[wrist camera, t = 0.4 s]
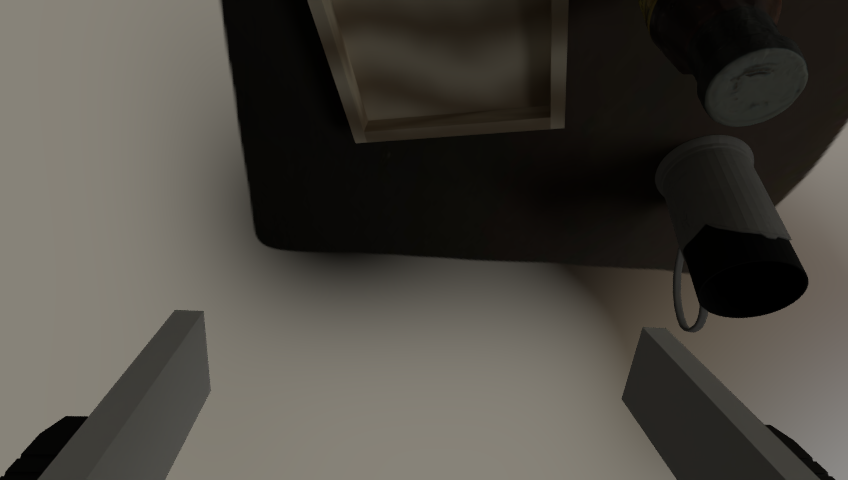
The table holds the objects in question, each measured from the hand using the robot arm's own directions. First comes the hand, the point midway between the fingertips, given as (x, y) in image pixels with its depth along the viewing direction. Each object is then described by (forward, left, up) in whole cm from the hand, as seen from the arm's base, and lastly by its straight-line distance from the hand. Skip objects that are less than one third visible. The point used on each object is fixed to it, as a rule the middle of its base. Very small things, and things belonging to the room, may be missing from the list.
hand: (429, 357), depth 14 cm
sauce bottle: (0, +13, -34) cm, 36 cm away
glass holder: (+24, +19, -34) cm, 46 cm away
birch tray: (+3, -4, -34) cm, 34 cm away
